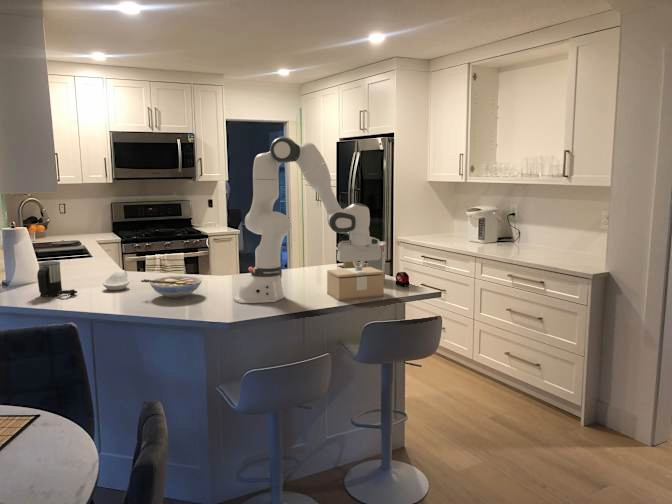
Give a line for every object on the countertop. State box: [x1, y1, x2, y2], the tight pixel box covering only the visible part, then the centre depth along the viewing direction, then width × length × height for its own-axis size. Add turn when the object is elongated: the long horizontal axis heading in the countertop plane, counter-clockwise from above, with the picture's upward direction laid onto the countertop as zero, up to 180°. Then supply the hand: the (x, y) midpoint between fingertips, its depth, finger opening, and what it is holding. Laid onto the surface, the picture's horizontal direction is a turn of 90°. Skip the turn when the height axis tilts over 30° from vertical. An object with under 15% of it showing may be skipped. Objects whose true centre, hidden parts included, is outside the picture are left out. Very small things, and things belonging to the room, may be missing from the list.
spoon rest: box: [102, 269, 130, 292], centre depth 267 cm, size 24×12×7 cm, turn 12°
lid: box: [326, 266, 384, 277], centre depth 250 cm, size 22×14×1 cm, turn 112°
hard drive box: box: [366, 241, 387, 280], centre depth 279 cm, size 16×8×20 cm, turn 168°
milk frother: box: [36, 260, 78, 297], centre depth 249 cm, size 14×16×15 cm
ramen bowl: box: [140, 274, 203, 299], centre depth 248 cm, size 25×23×8 cm
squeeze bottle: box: [342, 261, 359, 269], centre depth 304 cm, size 8×8×18 cm
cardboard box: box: [326, 272, 385, 302], centre depth 251 cm, size 22×14×10 cm, turn 112°
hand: (358, 270), depth 246 cm, fingers closed
